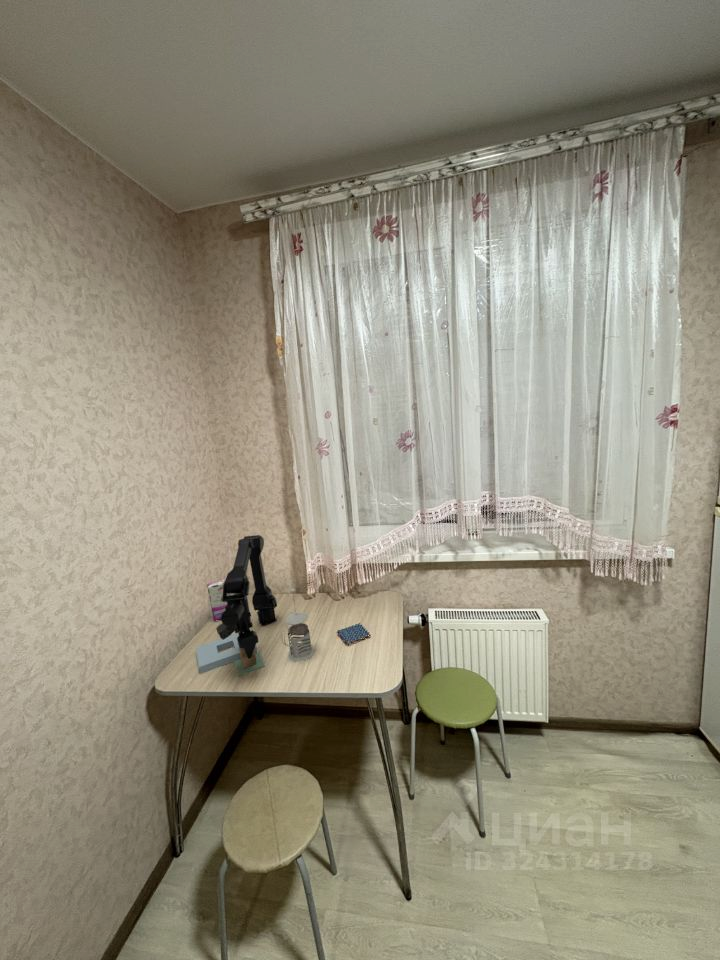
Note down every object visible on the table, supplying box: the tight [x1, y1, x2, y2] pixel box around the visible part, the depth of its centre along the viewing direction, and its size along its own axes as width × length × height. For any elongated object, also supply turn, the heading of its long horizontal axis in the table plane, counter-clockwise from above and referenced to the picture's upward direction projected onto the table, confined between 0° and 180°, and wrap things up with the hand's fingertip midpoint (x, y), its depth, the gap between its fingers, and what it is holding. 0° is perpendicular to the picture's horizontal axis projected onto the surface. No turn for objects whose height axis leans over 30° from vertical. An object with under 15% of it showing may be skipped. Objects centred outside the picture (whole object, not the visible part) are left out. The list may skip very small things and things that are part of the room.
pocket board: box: [195, 633, 258, 674], centre depth 143 cm, size 20×14×2 cm
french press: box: [280, 588, 316, 662], centre depth 136 cm, size 10×12×25 cm
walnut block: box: [239, 648, 257, 669], centre depth 134 cm, size 4×4×9 cm
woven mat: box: [336, 622, 371, 647], centre depth 146 cm, size 10×11×2 cm
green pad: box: [233, 651, 265, 677], centre depth 135 cm, size 9×9×1 cm
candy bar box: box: [206, 578, 235, 622], centre depth 170 cm, size 11×5×16 cm, turn 118°
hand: (247, 651), depth 134 cm, fingers open, 9 cm apart
